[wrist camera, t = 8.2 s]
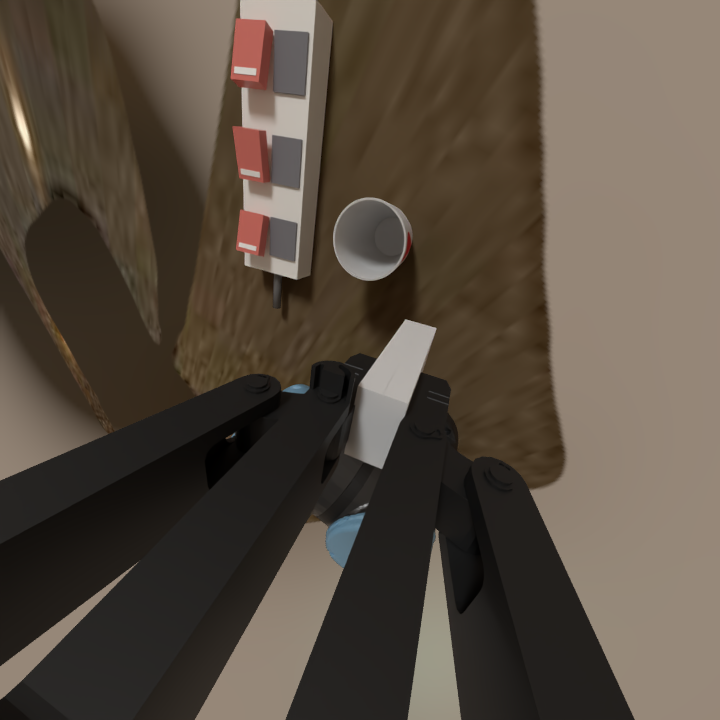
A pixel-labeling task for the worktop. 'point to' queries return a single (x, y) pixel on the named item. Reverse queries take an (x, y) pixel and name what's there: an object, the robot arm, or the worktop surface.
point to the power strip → (289, 132)
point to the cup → (371, 238)
